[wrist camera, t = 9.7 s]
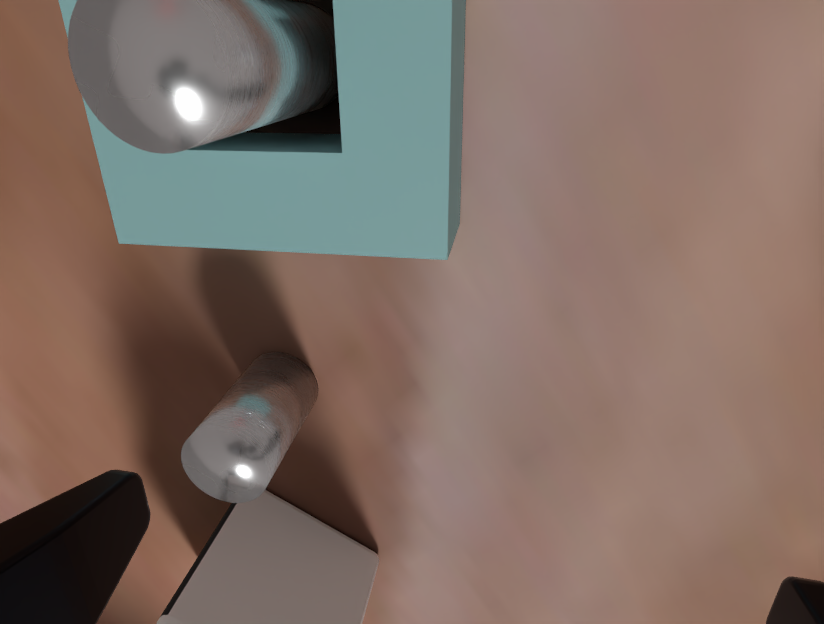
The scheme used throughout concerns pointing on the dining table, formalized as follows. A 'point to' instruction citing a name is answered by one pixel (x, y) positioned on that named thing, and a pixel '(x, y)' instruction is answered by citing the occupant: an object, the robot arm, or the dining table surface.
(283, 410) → the pin short
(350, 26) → the socket block
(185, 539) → the dining table surface
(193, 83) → the pin medium
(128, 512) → the robot arm
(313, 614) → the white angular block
